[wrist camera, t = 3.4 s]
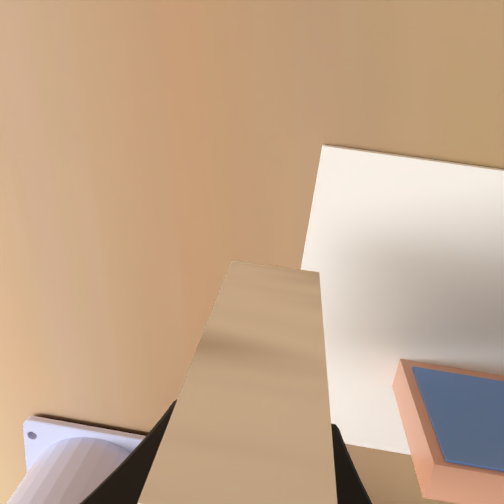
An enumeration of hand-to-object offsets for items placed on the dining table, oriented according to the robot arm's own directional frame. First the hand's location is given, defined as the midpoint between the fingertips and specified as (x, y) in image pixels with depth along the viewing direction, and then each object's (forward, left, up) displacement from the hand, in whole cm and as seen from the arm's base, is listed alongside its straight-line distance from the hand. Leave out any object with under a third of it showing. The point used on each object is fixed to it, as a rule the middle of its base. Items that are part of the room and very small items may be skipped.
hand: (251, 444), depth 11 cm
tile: (-4, -10, -10) cm, 15 cm away
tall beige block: (0, 0, -4) cm, 4 cm away
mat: (-1, -9, -10) cm, 14 cm away
